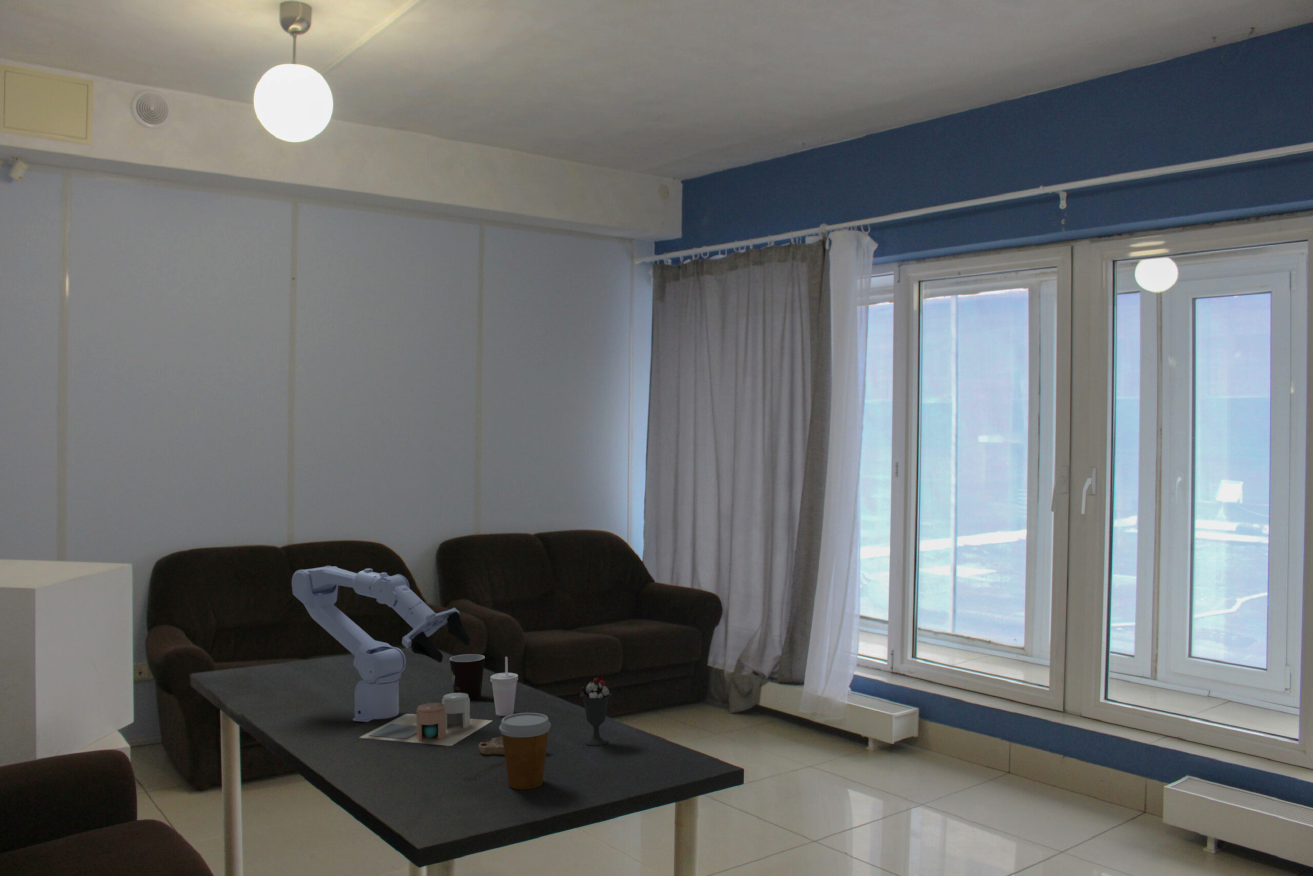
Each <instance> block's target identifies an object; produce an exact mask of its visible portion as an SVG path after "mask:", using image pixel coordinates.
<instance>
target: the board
mask: <svg viewBox="0 0 1313 876" xmlns="http://www.w3.org/2000/svg"><path fill="white" fill-rule="evenodd" d="M492 722H493V720H492V719H491V720H489V719H477V718H470V726H468V727H466V728H463V723H452V724H448V725H447V729H446V737H445V738H443V739H441V740H438V734H437V735H436V736H435V737H433V738H429V737H427V736H426V735H424V736H422V741H419V740H418V739H417V718H416V714H415V713H405V714H403V715H401V716H398V717H397V718H394V719H393V720H391V721H389V722H387V723H385V724H382V725H381V726H378V727H377V728H375V729H373V730H371V731H369V732H367V733H365V734H363V735H361V736H359V738H358V739H367V740H368V739H370V740H381V741H391V742H392V741H393V742H400V743H401V742H403V743H412V744H413V743H415V744H425V745H437V746H445V747H446V746H447V747H453V746H454V745H456V744H457V743H459V742H461V741H462V740H464V739H465V738H467V737H468V736H470V735H472V734H473V733H475V732H477V731H479V730H480V729H482V728H484V727H485V726H486V725H488V724H490V723H492Z"/></svg>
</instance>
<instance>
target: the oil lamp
mask: <svg viewBox="0 0 1313 876" xmlns="http://www.w3.org/2000/svg"><path fill="white" fill-rule="evenodd" d="M478 750H479V752H480V753H481V754H482V755H486V756H487V755H502V756H503V755H504V756H505V753H504V746H503V738H502V735H501V736H498V737H493V738H491V739H490V740H489V741H480V743H478Z"/></svg>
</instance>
